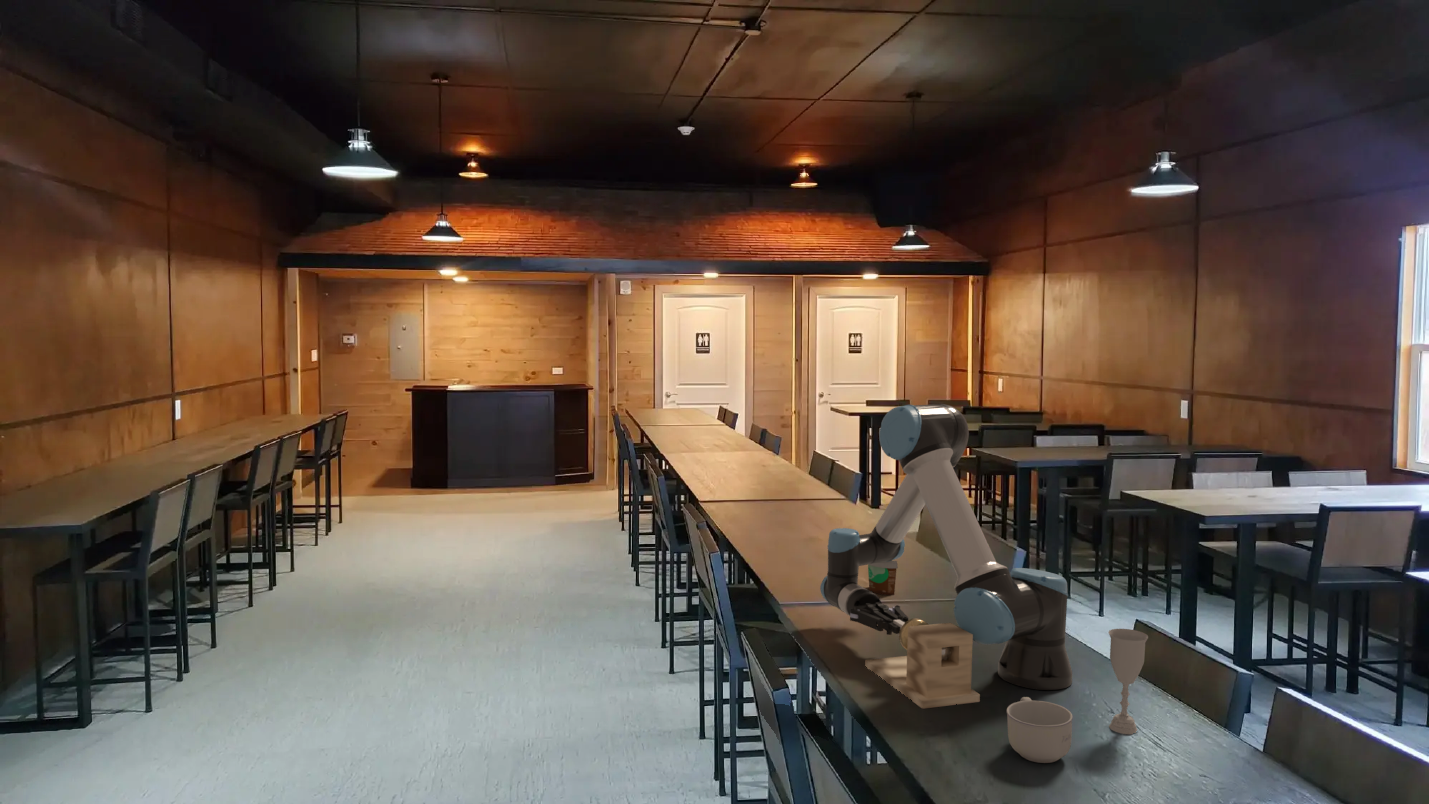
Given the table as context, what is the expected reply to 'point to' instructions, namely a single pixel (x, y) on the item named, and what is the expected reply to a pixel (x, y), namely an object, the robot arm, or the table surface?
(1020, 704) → the teacup
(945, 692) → the bearing stand
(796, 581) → the table surface
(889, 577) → the food container
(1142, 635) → the chalice
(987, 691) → the table surface
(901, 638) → the shaft
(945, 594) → the table surface
